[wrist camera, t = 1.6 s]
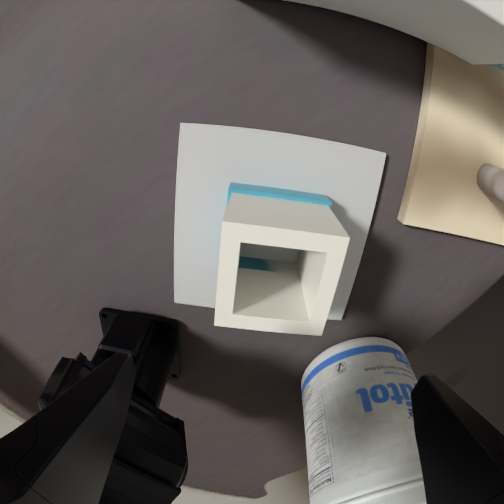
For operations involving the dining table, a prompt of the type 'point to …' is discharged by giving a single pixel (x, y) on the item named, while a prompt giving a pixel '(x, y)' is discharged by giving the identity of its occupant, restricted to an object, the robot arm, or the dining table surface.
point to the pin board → (458, 150)
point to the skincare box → (437, 23)
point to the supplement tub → (361, 425)
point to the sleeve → (278, 272)
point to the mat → (270, 175)
